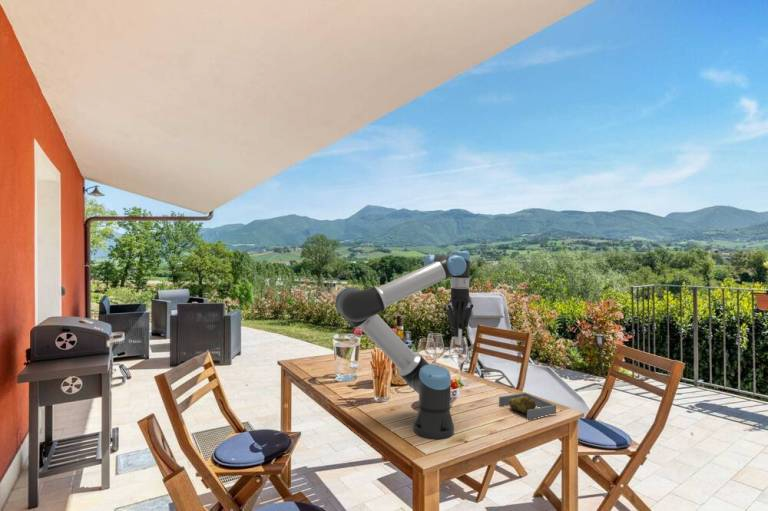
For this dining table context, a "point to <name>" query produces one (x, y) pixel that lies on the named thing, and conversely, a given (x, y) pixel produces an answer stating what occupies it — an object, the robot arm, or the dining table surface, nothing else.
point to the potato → (522, 404)
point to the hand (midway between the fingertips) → (458, 344)
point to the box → (544, 409)
